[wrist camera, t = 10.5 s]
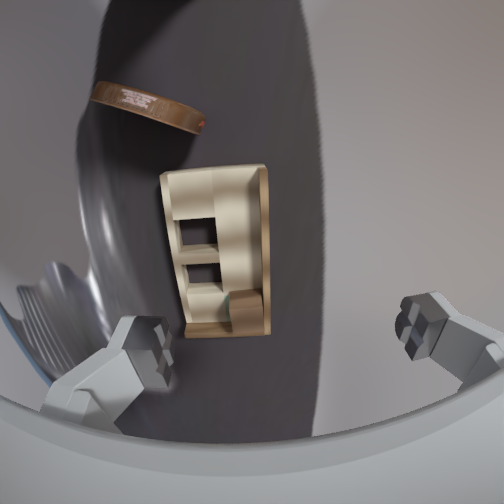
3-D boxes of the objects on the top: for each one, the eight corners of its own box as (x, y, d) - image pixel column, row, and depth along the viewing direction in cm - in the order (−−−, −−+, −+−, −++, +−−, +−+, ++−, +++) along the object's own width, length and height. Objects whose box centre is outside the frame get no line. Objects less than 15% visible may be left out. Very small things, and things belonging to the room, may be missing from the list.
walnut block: (229, 291, 39) (229, 309, 35) (260, 288, 39) (262, 306, 35) (233, 314, 41) (233, 333, 37) (262, 311, 41) (264, 331, 37)
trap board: (165, 171, 34) (153, 179, 29) (263, 163, 34) (267, 170, 29) (190, 315, 45) (185, 338, 40) (267, 312, 45) (270, 334, 40)
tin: (106, 103, 29) (75, 101, 21) (115, 83, 28) (84, 75, 20) (203, 136, 32) (191, 140, 25) (213, 115, 31) (205, 111, 24)
